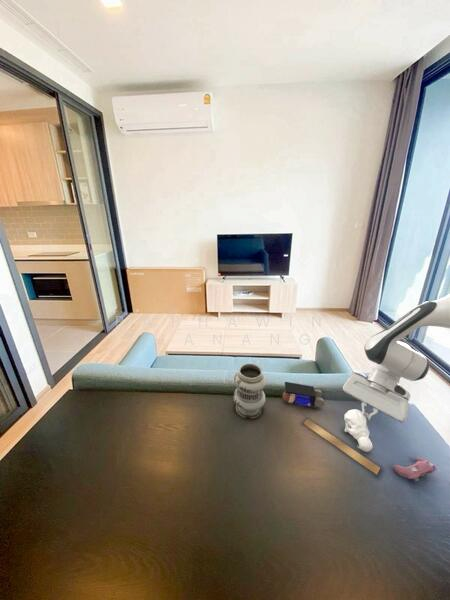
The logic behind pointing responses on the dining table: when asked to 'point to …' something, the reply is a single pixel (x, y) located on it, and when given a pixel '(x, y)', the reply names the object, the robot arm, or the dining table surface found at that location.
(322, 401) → the dark block with discs
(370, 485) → the dining table surface
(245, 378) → the apothecary jar
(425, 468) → the pink animal figurine
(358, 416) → the white sculpture
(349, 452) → the brass ruler
